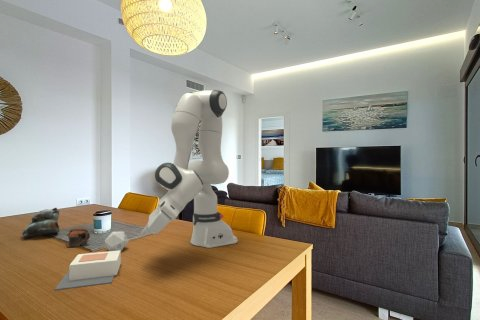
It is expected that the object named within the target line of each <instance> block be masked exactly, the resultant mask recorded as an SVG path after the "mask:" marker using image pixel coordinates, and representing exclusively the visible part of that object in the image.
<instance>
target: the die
mask: <svg viewBox="0 0 480 320" xmlns="http://www.w3.org/2000/svg"><path fill="white" fill-rule="evenodd" d="M104 243H105V245H106V247H107V250H108V251H119V250H121V252H122V251H123V250H124V248H125V247H126V245H127V244H128V243H129V240H128V237H127V235H126V234H125V231H112V232H111V233H109V235H108V236H107V237H106V239H105V240H104Z"/></svg>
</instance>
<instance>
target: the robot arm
mask: <svg viewBox="0 0 480 320" xmlns="http://www.w3.org/2000/svg"><path fill="white" fill-rule="evenodd" d="M227 105H228V99H227V96H226V95H225V93H224V91H222V90H219V89H218V90H217V89H213V90H211V89H208V90H207V89H206V90H199V91H194V92H192V91H191V92H186V93H184V94H182V95H181V97H180V99H179V101H178V103H177V104H176V107H175V109H174V111H173V115H172V119H171V125H170V127H171V133H172V136H173V138H174V141H175V147H176V149H175V155H174V158H173V163H172V162H163V163H162V164H160V165H159V166H158V167H157V168H156V170H155V172H154V178H155V180H156V182H157V184H158V185H159V186H161V187H162V188H163V189H165V191H167V192H166V193H165V194H164V195H162V197H161V198H160V199H159V200H158V201H157V204H158V205H157V207H156V208H155V209H154V210H153V211H152V212H151V213H150V214H149V216H148V222H147V224H146V225H145V226H144V227H143V229H142V230H141V231H140V235H141V237H142V238H144V237H146V235H148V234H149V233H151V234H153V235H157V234H159V233H160V232H161V231H162V230H163V229H165V227H166V226H168V225H169V224H170V223H171V222H172V221H175V220H176V219H177V218H178V217H179V216H178V215H179V214H180V213H181V212H182V211H183V210H184V209H185V208H186V206H187V205H188V203H190V202H191V201H192V200H193V213H192V225H193V229H192V234H191V238H190V240H189V241H190V244H192V245H193V246H196V247H203V248H206V249H207V248H208V249H211V248H217V247H223V246H228V245H233V244H237V243H238V241H239V240H238V237H237V236H235V235H234V234H233V229H232V227H231V226H230V225H228V223H226V222H225V221H224V220H222V219H224V216H225V215H224V214H223V213H220V212H219V211H218V195H217V194H216V193H215V191H214V190H213V187H212V185H214V186H215V185H220V184H224V183H225V182H226V181H228V178H229V175H230V173H229V172H230V171H229V167H228V165H227V164H226V163H225V162H224V159H223V157H222V151H221V147H222V135H223V117H222V116H223V114H224V112H225V111H226V108H227ZM200 120H201V121H200ZM198 129H199V133H198V139H197V148H198V150H199V151H200V153H201V155H202V160H194V161H191V162H190V160H191V159H190V157H191V154H192V149H193V144H194V141H195V138H196V134H197V131H198Z"/></svg>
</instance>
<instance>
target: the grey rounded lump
mask: <svg viewBox="0 0 480 320" xmlns="http://www.w3.org/2000/svg"><path fill="white" fill-rule="evenodd" d="M59 216H60V210H59V209H58V207H54V208H51V209H48V208H47V209H42V210H39V212H36V213H35V214H34V215H33V216H32V217H31V222H30V223H29V225H28V226H27V227H25V228H24V229H23V231H22V233H21V235H22V236H20V237H21V238H22V239H26V238H30V237H36V236H44V235H45V236H46V235H58V234H59V233H60V225H59ZM57 233H58V234H57ZM21 238H20V239H21Z"/></svg>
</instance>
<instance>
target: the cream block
mask: <svg viewBox="0 0 480 320" xmlns="http://www.w3.org/2000/svg"><path fill="white" fill-rule="evenodd" d="M121 252H122V251H121V250H119V251H109V250H108V251H98V252H89V253H79V254H77V255H76V256H75V258H74V259H73V260H72V261H71V263H70V264H69V269H68V271H69V281H71V280H79V279H88V278H96V277H104V276H112V275H114V276H117V275H118V273H119V270H120V267H121V261H122V259H121V257H122V254H121Z"/></svg>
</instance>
